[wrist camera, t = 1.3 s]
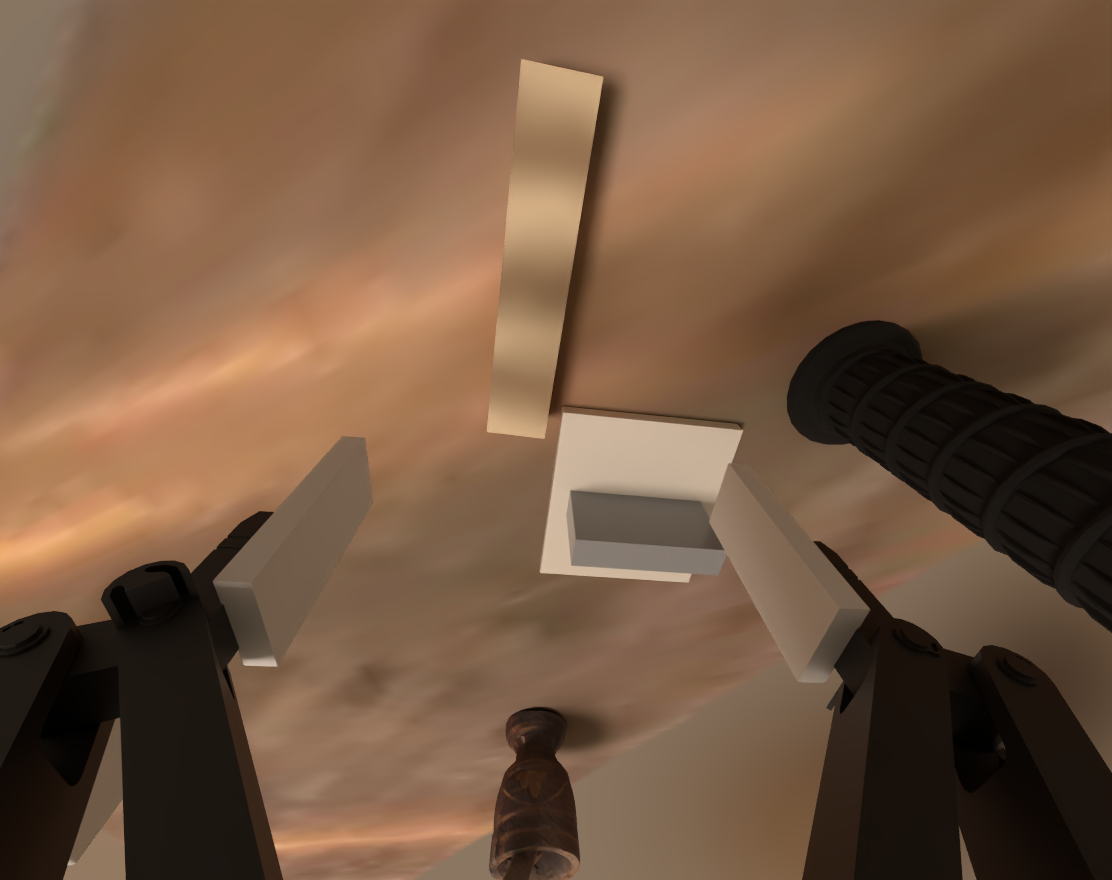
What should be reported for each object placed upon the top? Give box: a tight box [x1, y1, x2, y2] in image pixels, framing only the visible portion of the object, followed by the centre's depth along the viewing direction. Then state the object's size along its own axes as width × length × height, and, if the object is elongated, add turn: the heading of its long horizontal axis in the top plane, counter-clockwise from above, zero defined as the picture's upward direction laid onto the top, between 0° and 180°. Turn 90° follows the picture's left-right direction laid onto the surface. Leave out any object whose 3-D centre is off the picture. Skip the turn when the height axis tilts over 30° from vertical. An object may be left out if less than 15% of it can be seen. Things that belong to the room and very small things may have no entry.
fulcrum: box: [540, 406, 743, 582], centre depth 34 cm, size 16×14×7 cm
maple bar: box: [487, 59, 603, 439], centre depth 27 cm, size 20×4×4 cm, turn 171°
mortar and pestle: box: [489, 710, 580, 880], centre depth 43 cm, size 12×9×20 cm
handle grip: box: [787, 321, 1112, 633], centre depth 21 cm, size 10×26×10 cm
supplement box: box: [67, 718, 123, 866], centre depth 42 cm, size 7×7×13 cm
